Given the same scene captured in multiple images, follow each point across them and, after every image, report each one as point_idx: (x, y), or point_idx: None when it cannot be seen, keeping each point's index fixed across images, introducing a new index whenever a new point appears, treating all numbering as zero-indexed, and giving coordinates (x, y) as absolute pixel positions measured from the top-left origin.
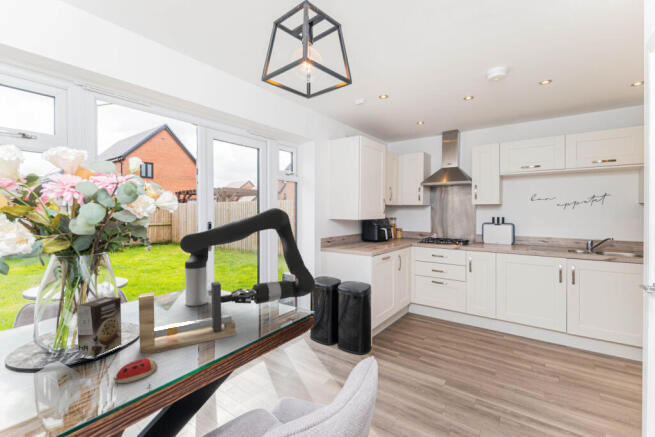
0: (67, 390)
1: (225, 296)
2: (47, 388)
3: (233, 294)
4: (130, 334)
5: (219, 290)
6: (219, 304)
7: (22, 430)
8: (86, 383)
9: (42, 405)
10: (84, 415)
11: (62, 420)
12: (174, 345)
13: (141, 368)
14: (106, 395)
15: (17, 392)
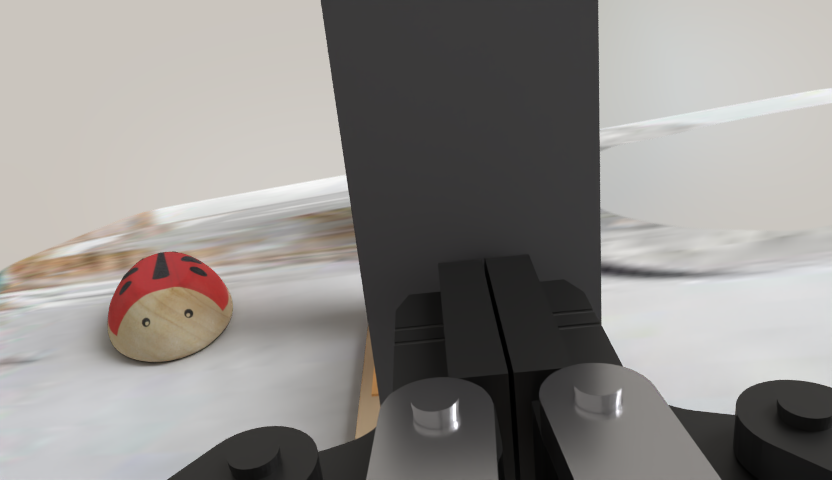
0: (245, 230)
1: (444, 302)
2: (303, 206)
3: (435, 396)
4: (723, 249)
5: (339, 85)
6: (377, 354)
7: (108, 225)
8: (252, 246)
9: (202, 220)
10: (36, 276)
11: (68, 255)
12: (361, 387)
13: (116, 296)
14: (102, 288)
15: (331, 183)
